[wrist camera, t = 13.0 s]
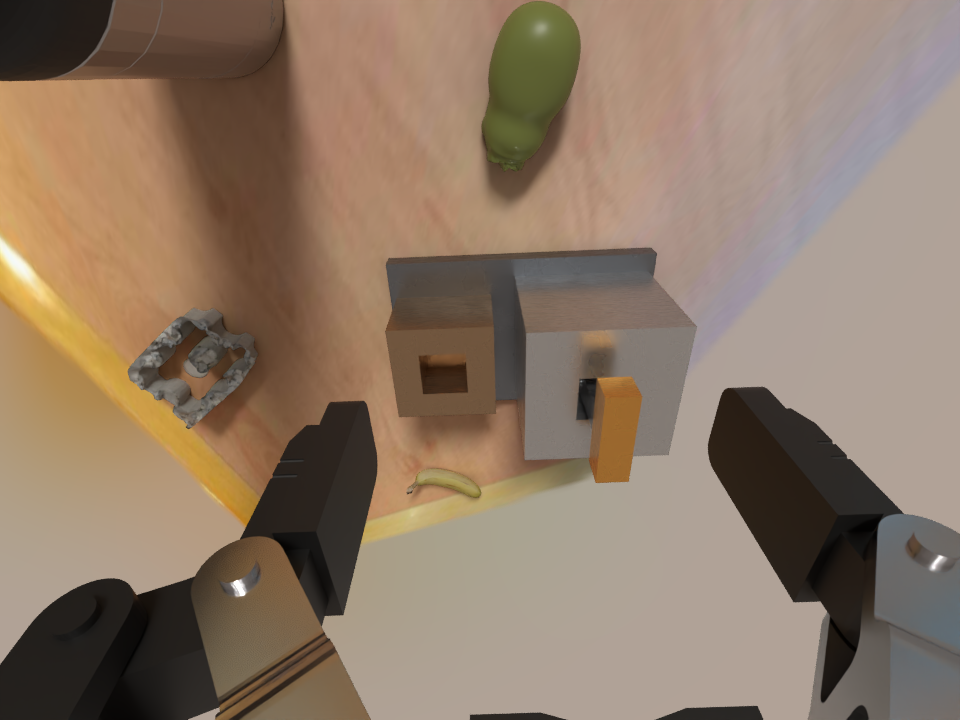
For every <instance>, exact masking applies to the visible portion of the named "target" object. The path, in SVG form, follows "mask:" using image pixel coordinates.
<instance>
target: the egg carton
mask: <svg viewBox="0 0 960 720" xmlns="http://www.w3.org/2000/svg"><path fill="white" fill-rule="evenodd" d="M222 317H223V315H222V314H221V313H220V312H218V311H217V310H216V309H214V308H212V309H210V310H208V311H202V310H198V309H196V308H193V309H191V310H190V311H189V312H188V313H187V314H185V315H184V316H183V317H179V318H177V319H176V320H175V321H174V322H172V323H171V324H170V325H169V326H168V327H167V328H166V329H165V330H164V331H163V332H162V333H161V334H160V336H159V337H158V338H157V339H156V340H154V341H153V342H152V344H151V345H150V346H149V347H148V348H147V349H146V350H145V351H144V352H143V353H142V354H141V355H140V356H139V357H138V358H137V359H136V360H135V362H134V363H133V364H132V365H131V366H130V368H129V369H128V375H129V378H130V380H131V381H132V382H134V383H136V384H137V385H138V386H139V388H140V389H141V390H144V389H145V390H147V391H149V392H150V393H152V394H153V395H154V398H155V399H156V400H161V399H162V398H164V399H166V400H167V401H169V402H171V403H172V404H174V405H175V406H174V409H173V413H174V414H175V415H176V416H177V417H178V418H180V419H181V420H184V421H185V423H187V424H188V425H187V426H186V428H187V429H190V428H191V427H193V426H194V425H195V424H196V423H198V422H199V421H200V420H201V419H202V418H203V417H204V416H205V415H207V414H208V413H209V412H210V411H211V410H212V409H213V408H214V407H215V406H217V405H218V404H219V403H220V402H221V401H222V400H224V399H225V398H226V397H227V396H228V395H229V394H230V393H231V392H232V391H234V390H235V389H236V388H237V387H238V386H239V385H240V383H241V382H242V380H243V379H244V378H245V376H246V375H247V373H248V372H249V370H250V369H251V367H252V366H253V365H254V364H255V362H254V361H255V360H256V357H257V356H258V353H257V352H256V350H255V348H254V341H255V338H254V337H253V336H251V335H250V334H248V333H247V332H245V333H243V334H241V335H234V334H231V333H229V332H228V331H226V330H225V328H224V327H223V325H222ZM195 326H196V327H198V328H199V329H200V330H206V334H207V335H209V336H206V337H205V338H204V339H203V340H201V341H200V342H199V343H198V344H197V345H196V346H195V347H194V348H193V349H192V351H191V352H190V353H189V354H188V359H187V360H185V361H184V366H183V367H184V369H185V371H186V372H187V373H188V374H189V375H191V376H193V377H198V378H201V377H204V376H206V375H207V374H208V372H209V370H210V369H211V368H212V367H214V366H215V365H217V364H218V362H219V361H220V360H221V359H222V358H223V357H224V355H225V354H226V353H227V351H228V348H229V347H231V348H232V350H236V349H237V348H239V347H242V348H244V349H245V350H246V352H245V354H244V357H243V358H240V359H238V360H236V361H235V362H234V364H233V365H232V366H231V367H230V368H229V369H228V370H227V372H226V373H225V374H224V375H223V377H225V378H226V379H220V380H218V381H217V382H216V383H215V384H214V385H213V387H212V388H211V389H210V390H209V391H208V392H207V394H206V396H204V397H203V398H201V399H200V400H197V399H195V398H194V397H192V396H191V395H190V392H191V389H190V386H189V385H188V384H187V383H186V382H185V381H183V380H181V379H178V378H171V379H169V380H165V379H164V378H163V377H161V376H160V375H159V374H158V371H159V369H158V367H160V366H161V365H163V364H164V363H165V362H166V361H167V360H168V359H169V358H170V357H171V356H172V355H173V354H174V353H175V351H176V345H178V344H181V343H182V341H183V340H184V339H185V338H186V337H187V336H188V335H189V334H190V333H191V332H192V331H193V330H194V328H195Z"/></svg>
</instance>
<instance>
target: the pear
mask: <svg viewBox="0 0 960 720" xmlns="http://www.w3.org/2000/svg"><path fill="white" fill-rule="evenodd" d="M580 49H581V43H580V35H579V31H578V28H577V25H576V23H575V22H574V20H573V19H572V17H571V16H570V15H569V14H568V13H567V12H566V11H565V10H564V9H562V8H561V7H559V6H557V5H555V4H552V3H549V2H544V1H534V2H529V3H526V4H524V5H522V6H520V7H518V8H517V9H516V10H515V11H513V12H512V14H511V15H510V16H509V17H508V19H507V20H506V22H505V23H504V25H503V27H502V29H501V31H500V33H499V36H498V38H497V41H496V44H495V47H494V50H493V54H492V58H491V62H490V68H489V77H488V83H489V94H490V97H489V102H488V107H487V110H486V115H485V117H484V119H483V122H482V133H483V135H484V137H485V142H486V147H487V161H490V162H493V163H499V164H500V166H501V168H502V170H503V171H504V172H505V171H506V170H508V169H509V168H510V169H512V170H514V171H518V170H522V167H523V166H524V163H525V160H526V159H529V158H530V157H532V156H533V155H534V154H535V153H536V152H537V150H538V149H539V148H540V146H541V145H542V143H543V141H544V139H545V137H546V134H547V131H548V128H549V125H550V123H551V121H552V119H553V118H554V117H555V116H556V115H557V114H558V112H559V111H560V110H561V109H562V107H563V106H564V104H565V103H566V101H567V99H568V97H569V95H570V92H571V90H572V87H573V84H574V81H575V78H576V74H577V70H578V65H579V59H580ZM505 164H506V165H505ZM504 168H505V170H504Z"/></svg>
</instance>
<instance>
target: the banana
mask: <svg viewBox="0 0 960 720" xmlns="http://www.w3.org/2000/svg"><path fill="white" fill-rule="evenodd" d="M426 484H431V485H438V486H443V487H447V488H451V489H454V490H457V491H459V492H462V493H464V494H466V495H468V496H470V497H474V498H477V497H479V496H480V495H481V491H480V489H479V487H478V485H477V484H476V483H475V482H473V481H472V480H471V479H469V478H467V477H465V476H463V475H460V474H458V473H456V472H453V471H449V470H444V469H426V470H423V471H421V472H419V473H418V474H417V476H416V481H415V483H414V484H413V485H411V486H410V487H408V488H407V494H409V493H412V491H413V489H414V488H415V487H416V486H417V485H426Z"/></svg>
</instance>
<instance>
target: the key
mask: <svg viewBox="0 0 960 720" xmlns="http://www.w3.org/2000/svg"><path fill="white" fill-rule="evenodd" d="M579 392H580V395H581V398H582V401H583V404H584V407H585V410H586V413H587V416H588V419H589V422H590V425H591V428H592V434H591V444H590V454H589V462H590V465H591V469H592V472H593V475H594V479H595V482H596V483H607V482H628V481H629V476H630V470H631V464H632V457H633V451H634V445H635V439H636V433H637V427H638V421H639V415H640V408H641V402H642V395H641V393H640V391H639V389H638V387H637V385H636V383H635V381H634V380H633V378H632V376H631V377H607V378H586V379H579Z"/></svg>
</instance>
